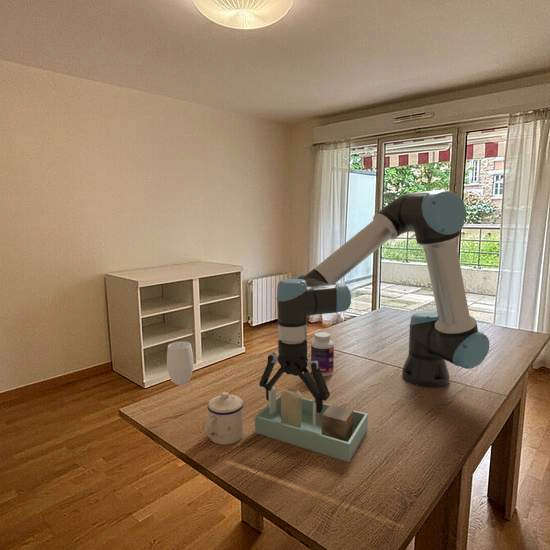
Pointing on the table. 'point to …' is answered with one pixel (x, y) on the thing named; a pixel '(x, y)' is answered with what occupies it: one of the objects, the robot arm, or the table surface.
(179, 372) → the grey rounded cylinder
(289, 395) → the candle
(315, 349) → the pill bottle
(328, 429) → the walnut block
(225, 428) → the teacup with lid
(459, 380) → the table surface
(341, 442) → the tote
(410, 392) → the table surface
